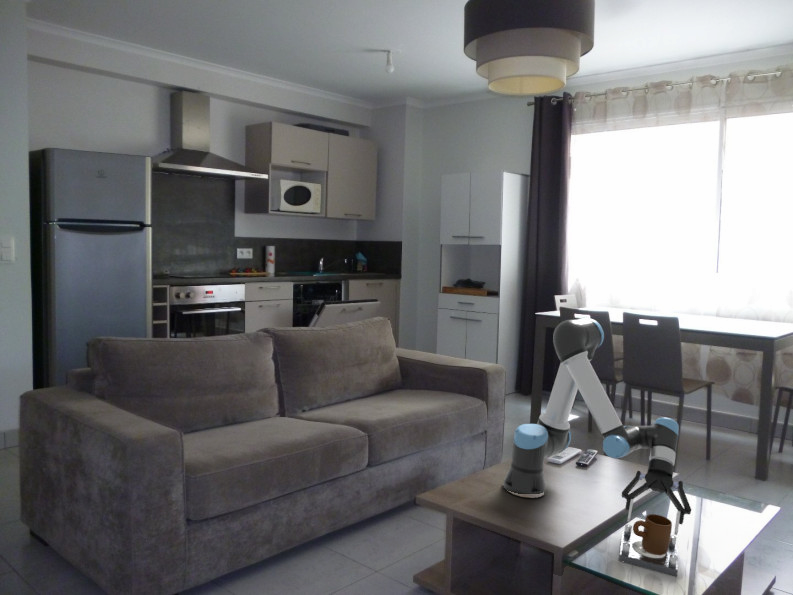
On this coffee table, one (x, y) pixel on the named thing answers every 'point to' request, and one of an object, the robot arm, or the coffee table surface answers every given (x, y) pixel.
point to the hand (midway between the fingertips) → (652, 526)
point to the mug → (654, 533)
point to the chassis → (647, 554)
